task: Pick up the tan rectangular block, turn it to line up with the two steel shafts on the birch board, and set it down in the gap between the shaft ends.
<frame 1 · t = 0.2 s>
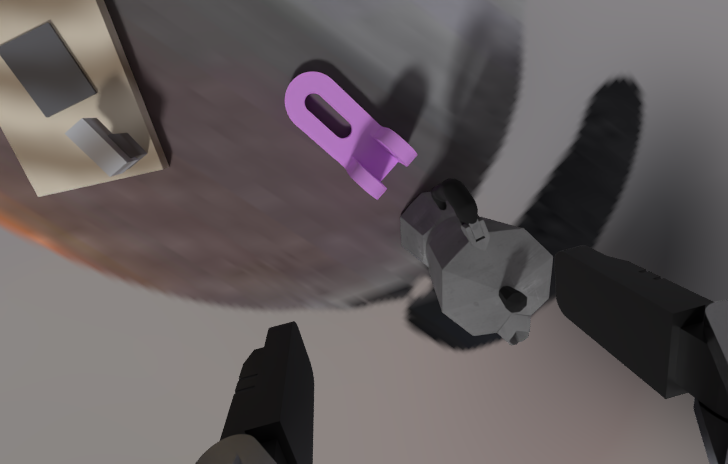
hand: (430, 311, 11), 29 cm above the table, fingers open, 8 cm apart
coffeepot: (432, 218, 41), on the table
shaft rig: (61, 73, 32), on the table
bracket: (342, 128, 37), on the table
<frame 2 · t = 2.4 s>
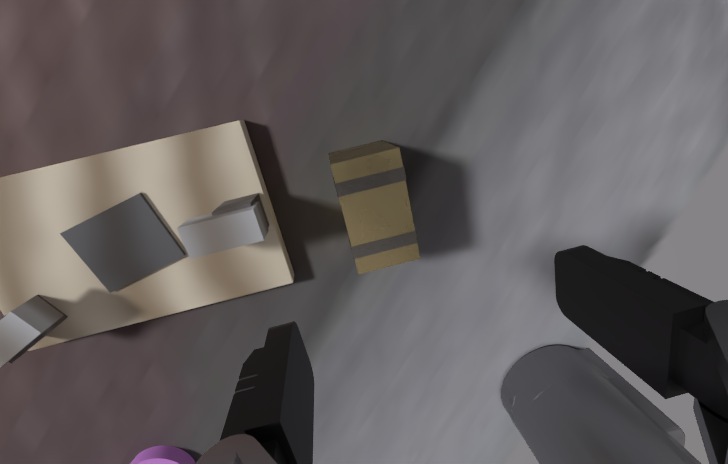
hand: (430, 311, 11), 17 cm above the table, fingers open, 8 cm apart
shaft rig: (137, 236, 26), on the table
tan rectangular block: (365, 193, 26), on the table
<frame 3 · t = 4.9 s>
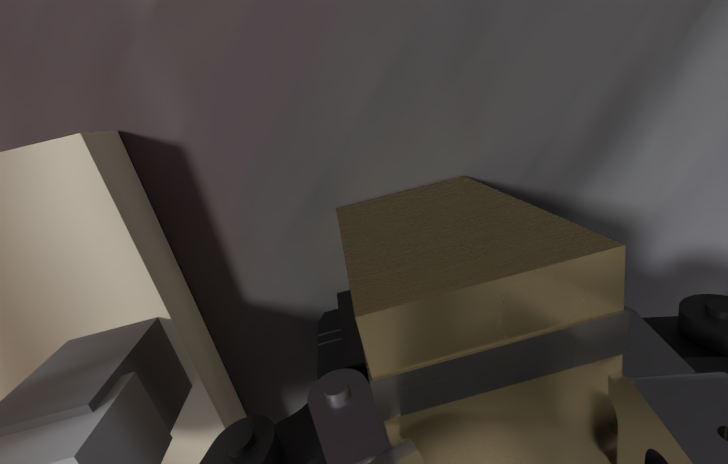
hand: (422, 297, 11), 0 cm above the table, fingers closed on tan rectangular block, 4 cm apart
tan rectangular block: (420, 291, 12), on the table, touching gripper
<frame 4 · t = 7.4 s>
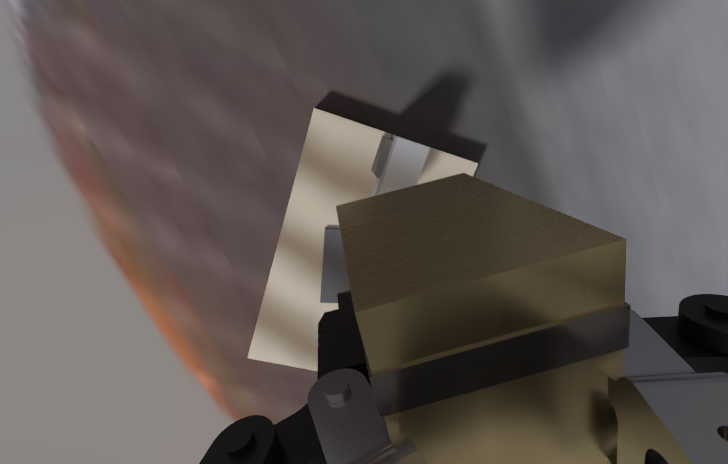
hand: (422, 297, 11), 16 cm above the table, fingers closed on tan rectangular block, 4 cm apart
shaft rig: (354, 258, 28), on the table
tan rectangular block: (420, 289, 12), point 15 cm above the table, touching gripper
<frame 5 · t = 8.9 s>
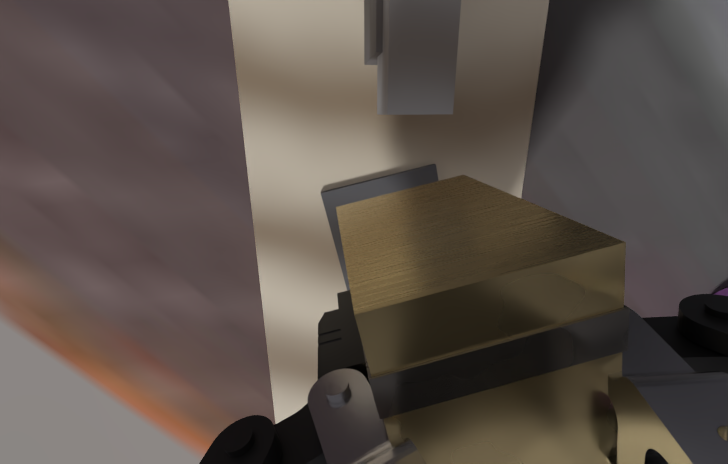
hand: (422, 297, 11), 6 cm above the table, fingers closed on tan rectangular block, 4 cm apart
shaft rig: (385, 230, 17), on the table
tan rectangular block: (419, 290, 12), point 6 cm above the table, touching gripper
when the fingers open (3 cm above the table, at t = 10.0 s): tan rectangular block stays where it is, resting on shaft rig.
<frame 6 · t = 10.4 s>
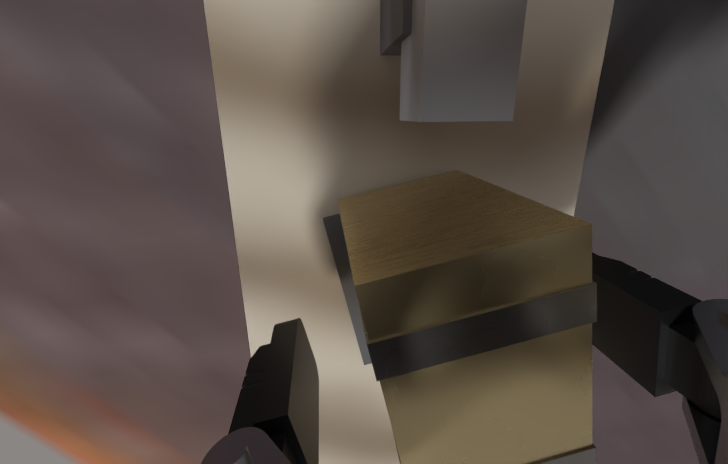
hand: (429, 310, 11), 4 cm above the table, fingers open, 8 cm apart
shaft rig: (401, 260, 14), on the table
tan rectangular block: (415, 279, 12), point 2 cm above the table, touching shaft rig
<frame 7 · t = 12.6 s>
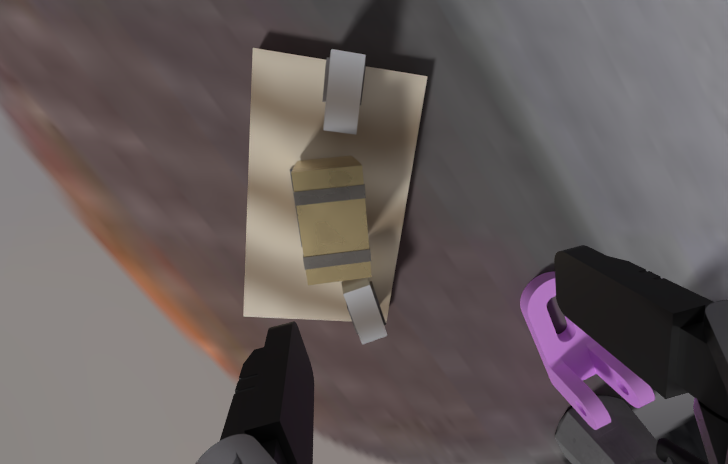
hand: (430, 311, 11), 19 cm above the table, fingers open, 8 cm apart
coffeepot: (590, 417, 40), on the table
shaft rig: (328, 200, 28), on the table
bracket: (556, 324, 35), on the table
tan rectangular block: (330, 204, 26), point 2 cm above the table, touching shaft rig
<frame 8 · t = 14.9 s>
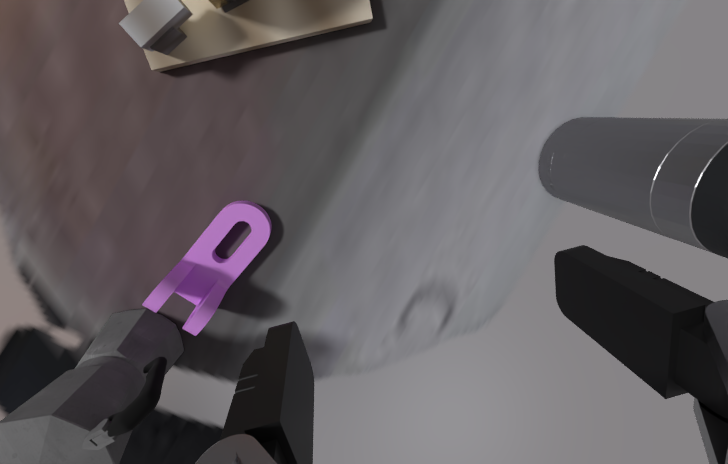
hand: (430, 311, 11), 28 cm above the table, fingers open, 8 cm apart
coffeepot: (151, 336, 41), on the table
bracket: (224, 249, 38), on the table
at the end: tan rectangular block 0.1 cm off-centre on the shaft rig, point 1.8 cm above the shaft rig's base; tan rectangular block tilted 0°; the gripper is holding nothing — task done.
